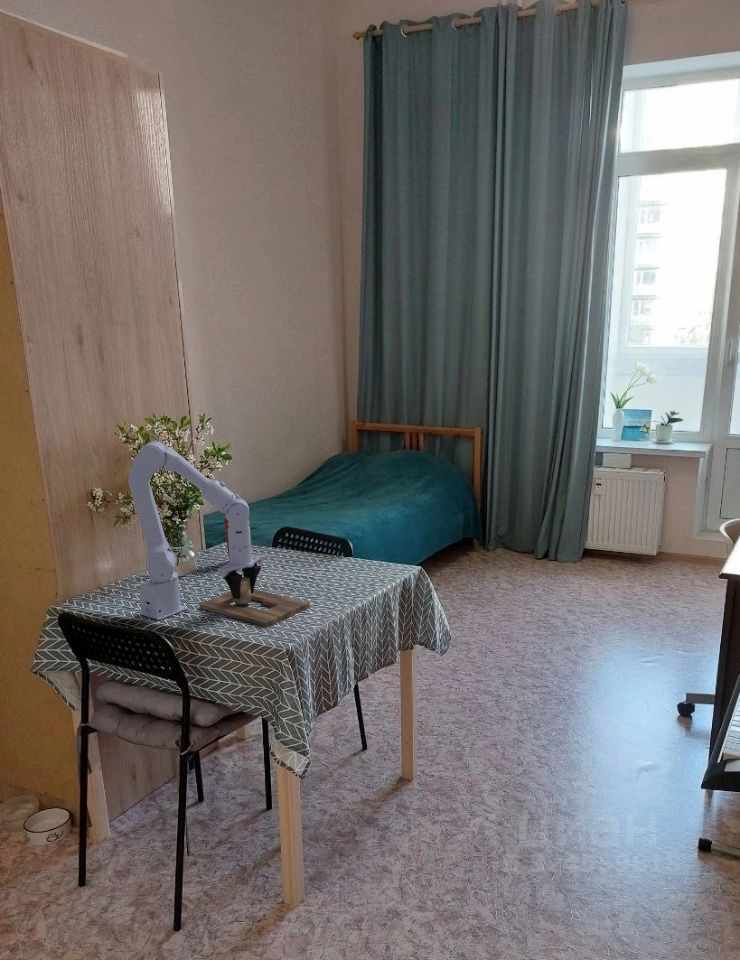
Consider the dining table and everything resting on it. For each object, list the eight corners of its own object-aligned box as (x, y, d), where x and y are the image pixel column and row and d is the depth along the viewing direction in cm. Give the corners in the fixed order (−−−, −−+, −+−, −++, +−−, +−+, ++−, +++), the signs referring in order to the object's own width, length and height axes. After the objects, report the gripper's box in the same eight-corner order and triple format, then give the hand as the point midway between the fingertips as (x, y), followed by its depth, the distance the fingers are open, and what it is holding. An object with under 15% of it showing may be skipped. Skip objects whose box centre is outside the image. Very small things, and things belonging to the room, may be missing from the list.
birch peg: (242, 605, 192) (240, 582, 191) (231, 602, 194) (229, 580, 193) (254, 600, 195) (253, 578, 194) (243, 597, 198) (241, 575, 197)
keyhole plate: (266, 627, 179) (266, 622, 179) (199, 608, 193) (199, 604, 193) (309, 607, 192) (309, 602, 192) (243, 590, 206) (243, 586, 205)
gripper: (230, 554, 183) (233, 606, 186) (270, 540, 195) (273, 589, 198) (210, 550, 188) (214, 601, 190) (251, 537, 199) (254, 585, 202)
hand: (243, 595), depth 194 cm, fingers closed on birch peg, 4 cm apart
